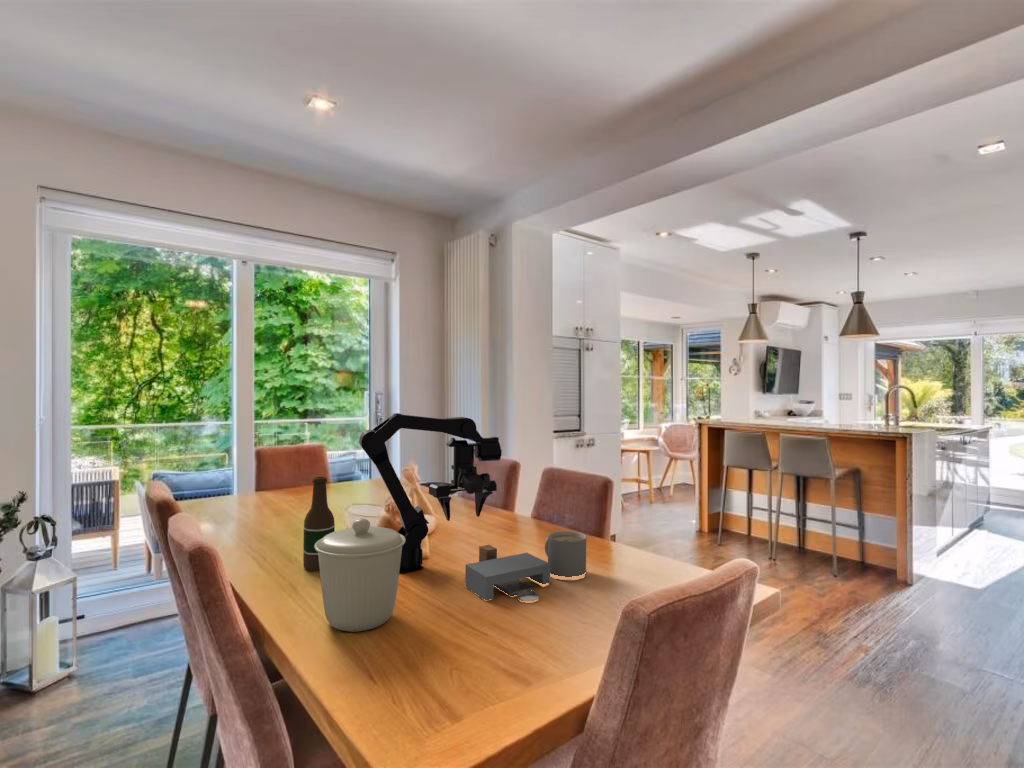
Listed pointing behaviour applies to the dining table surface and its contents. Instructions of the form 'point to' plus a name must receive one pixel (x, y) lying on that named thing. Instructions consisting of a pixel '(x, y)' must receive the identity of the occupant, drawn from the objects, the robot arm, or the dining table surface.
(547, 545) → the coffee mug
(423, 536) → the robot arm
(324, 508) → the beer bottle
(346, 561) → the canister
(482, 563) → the low shelf
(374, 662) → the dining table surface
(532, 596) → the steel disc
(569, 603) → the dining table surface
